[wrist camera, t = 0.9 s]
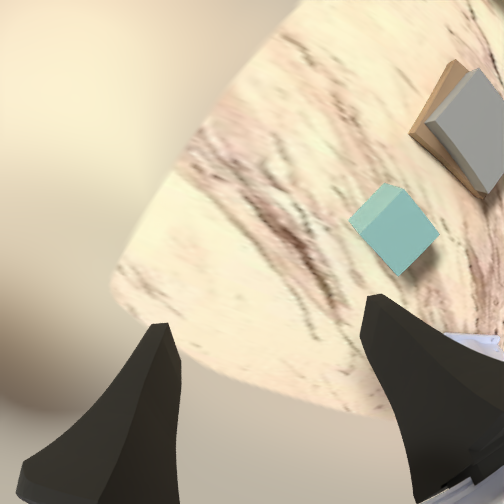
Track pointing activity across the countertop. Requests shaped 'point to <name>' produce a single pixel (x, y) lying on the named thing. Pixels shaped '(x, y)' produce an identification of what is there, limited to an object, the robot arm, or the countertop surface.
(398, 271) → the teal block
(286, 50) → the countertop surface
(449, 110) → the grey square slab
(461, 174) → the walnut slab
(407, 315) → the robot arm
